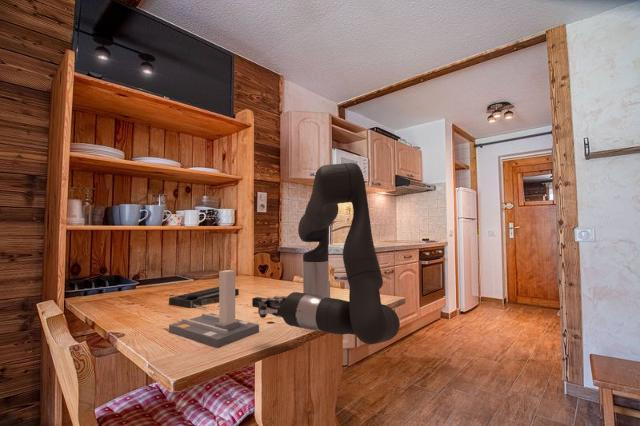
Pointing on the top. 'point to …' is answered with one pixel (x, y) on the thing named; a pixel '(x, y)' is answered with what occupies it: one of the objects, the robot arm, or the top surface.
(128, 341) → the top surface
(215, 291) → the black rectangular tray
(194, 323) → the switch panel
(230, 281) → the switch tab
